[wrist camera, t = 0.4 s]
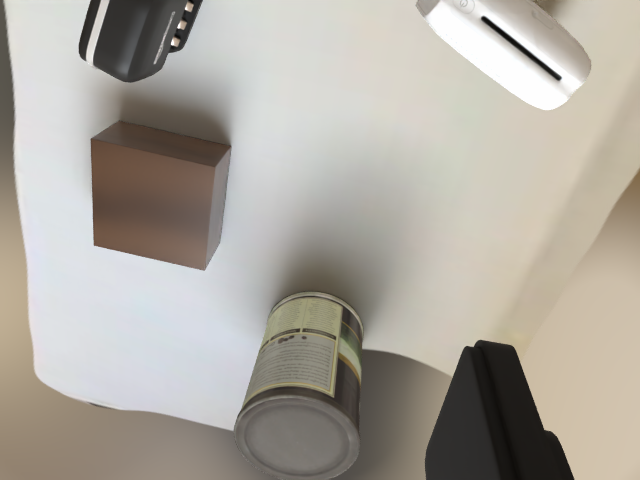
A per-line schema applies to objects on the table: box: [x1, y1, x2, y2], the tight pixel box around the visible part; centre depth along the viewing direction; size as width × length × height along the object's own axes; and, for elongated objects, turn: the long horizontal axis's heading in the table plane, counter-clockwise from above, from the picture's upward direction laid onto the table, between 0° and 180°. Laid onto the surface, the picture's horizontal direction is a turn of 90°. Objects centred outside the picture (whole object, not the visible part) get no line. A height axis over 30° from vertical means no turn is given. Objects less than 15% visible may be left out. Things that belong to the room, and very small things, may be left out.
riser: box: [91, 121, 231, 270], centre depth 44 cm, size 10×10×5 cm
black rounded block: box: [79, 0, 203, 83], centre depth 34 cm, size 7×4×11 cm, turn 151°
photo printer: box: [416, 0, 591, 110], centre depth 32 cm, size 10×4×12 cm, turn 56°
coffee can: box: [234, 292, 363, 480], centre depth 47 cm, size 10×10×14 cm
